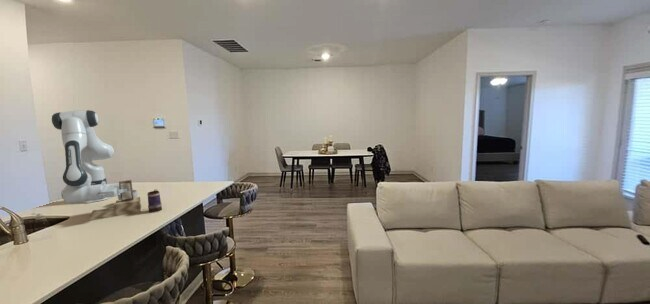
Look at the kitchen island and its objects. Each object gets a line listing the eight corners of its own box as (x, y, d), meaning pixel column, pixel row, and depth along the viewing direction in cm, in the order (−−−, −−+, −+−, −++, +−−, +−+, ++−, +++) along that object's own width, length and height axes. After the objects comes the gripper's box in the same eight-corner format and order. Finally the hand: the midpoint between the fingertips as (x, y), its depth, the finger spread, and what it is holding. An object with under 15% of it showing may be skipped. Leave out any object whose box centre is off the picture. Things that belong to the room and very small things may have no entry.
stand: (90, 220, 162) (88, 208, 161) (93, 215, 171) (92, 203, 170) (140, 212, 174) (138, 200, 173) (141, 207, 182) (140, 196, 181)
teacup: (131, 205, 187) (129, 193, 186) (114, 206, 187) (112, 194, 186) (144, 199, 201) (143, 188, 200) (129, 199, 201) (127, 188, 200)
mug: (160, 211, 173) (157, 192, 171) (147, 213, 171) (144, 193, 170) (165, 206, 183) (163, 188, 181) (152, 207, 181) (150, 189, 180)
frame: (121, 202, 171) (118, 182, 170) (122, 200, 174) (119, 181, 173) (133, 200, 174) (130, 181, 173) (133, 199, 177) (131, 179, 175)
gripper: (94, 190, 157) (125, 186, 164) (101, 183, 175) (128, 179, 182) (96, 201, 158) (126, 197, 165) (103, 193, 176) (130, 189, 183)
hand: (127, 188), depth 173 cm, fingers open, 8 cm apart
